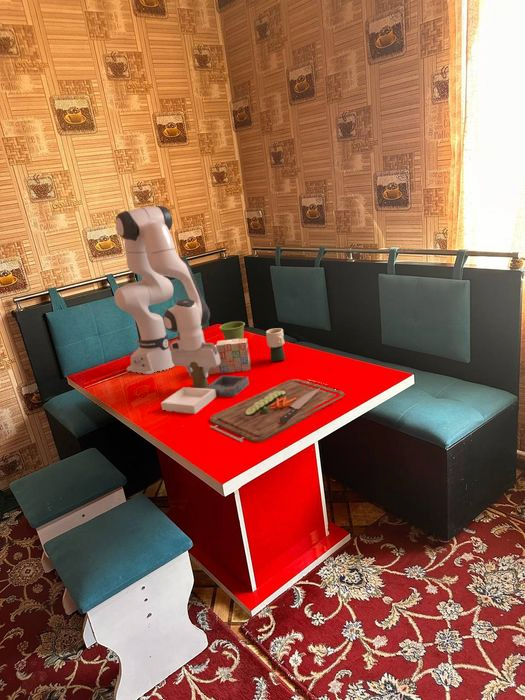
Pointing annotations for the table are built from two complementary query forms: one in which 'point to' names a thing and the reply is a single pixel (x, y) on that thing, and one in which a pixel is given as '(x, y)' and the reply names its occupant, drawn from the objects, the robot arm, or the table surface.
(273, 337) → the character mug
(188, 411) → the tray
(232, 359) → the stack of blocks
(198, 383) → the cork
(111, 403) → the table surface
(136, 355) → the robot arm
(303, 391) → the chopping board
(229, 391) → the grey square shallow box
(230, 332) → the plant pot
